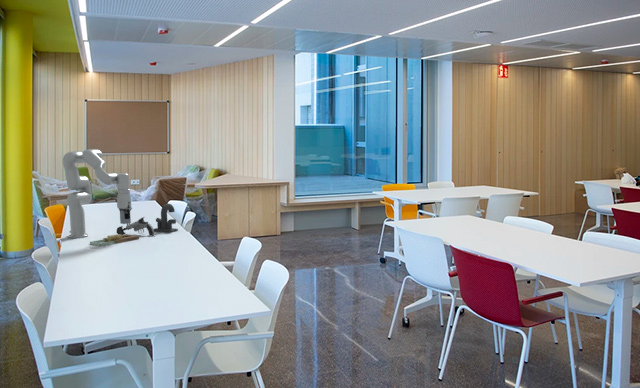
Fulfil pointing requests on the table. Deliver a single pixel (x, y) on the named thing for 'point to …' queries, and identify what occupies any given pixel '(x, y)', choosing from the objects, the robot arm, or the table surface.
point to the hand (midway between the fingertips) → (125, 218)
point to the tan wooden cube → (111, 238)
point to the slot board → (124, 238)
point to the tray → (101, 243)
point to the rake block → (122, 217)
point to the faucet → (165, 220)
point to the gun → (137, 227)
